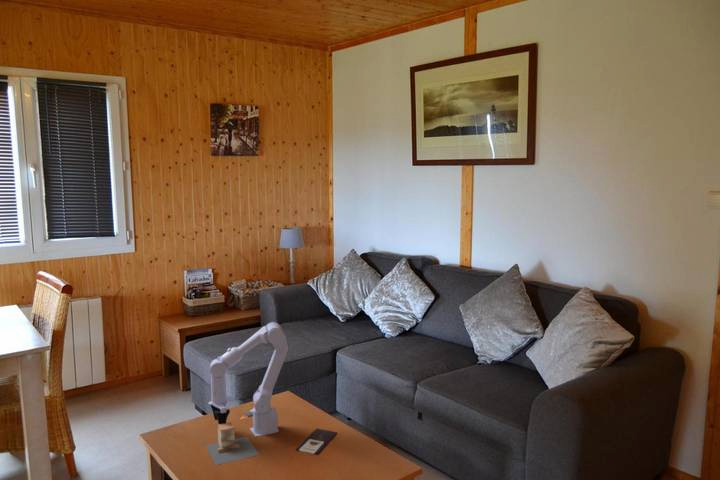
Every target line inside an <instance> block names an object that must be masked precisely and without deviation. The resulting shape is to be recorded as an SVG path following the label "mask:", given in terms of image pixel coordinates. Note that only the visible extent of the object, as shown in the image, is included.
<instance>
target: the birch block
mask: <svg viewBox="0 0 720 480" xmlns="http://www.w3.org/2000/svg"><path fill="white" fill-rule="evenodd" d="M235 439H236V437H235V426H234V424H233V423H232V422H231V421H229V422H226V423H224V424H217V440H218V441H217V443H218V445H219V447H220V448H223V447H228V446H232V445H235Z"/></svg>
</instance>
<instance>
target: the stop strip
mask: <svg viewBox="0 0 720 480" xmlns="http://www.w3.org/2000/svg"><path fill="white" fill-rule="evenodd" d="M238 448H240V445H239V444H236V445H232V446H228V447H223V448H219V449H218V453H221V452H225V451H229V450H234V449H238Z"/></svg>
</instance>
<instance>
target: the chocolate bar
mask: <svg viewBox="0 0 720 480" xmlns="http://www.w3.org/2000/svg"><path fill="white" fill-rule="evenodd" d="M337 435H338V431H337V432H336V431H331V430H326V429H321V428H316V429H314V430H313V432H311V434H310V435H308V436H307V437H306V438H305V440H303V441H302V442H301V444H299V445H298V447H297V448H296V449H295V451H296V452H301V453H306V454H310V455H311V454H312V455H314V456H315V455H316V456H318V455H319V454H320V453H321V452H322V451H323V450H324V449H325V447H326V446H327V445H328V444H329V443H330V442H331V441H332V440H333V439H334V438H335V437H336V436H337Z"/></svg>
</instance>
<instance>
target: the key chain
mask: <svg viewBox="0 0 720 480" xmlns="http://www.w3.org/2000/svg"><path fill="white" fill-rule="evenodd" d="M249 417H253V408H252V409H250V410H249V411H248V412H246V413H245V414H244V415H242V416H241V417H240V418H239V420H243V419H246V418H249Z"/></svg>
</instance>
